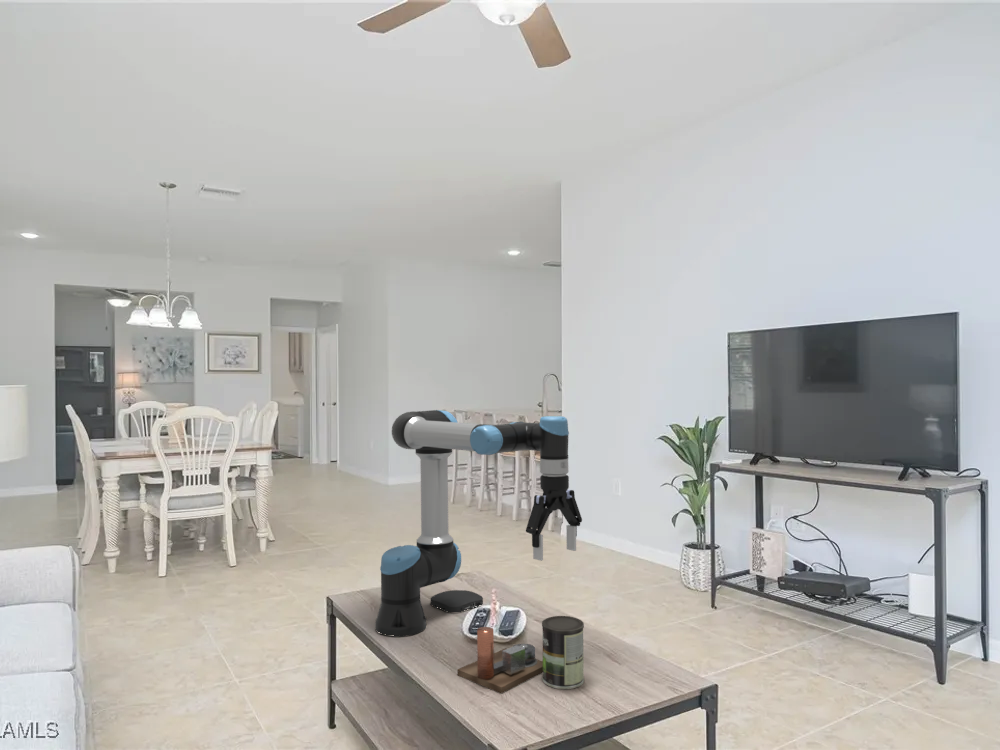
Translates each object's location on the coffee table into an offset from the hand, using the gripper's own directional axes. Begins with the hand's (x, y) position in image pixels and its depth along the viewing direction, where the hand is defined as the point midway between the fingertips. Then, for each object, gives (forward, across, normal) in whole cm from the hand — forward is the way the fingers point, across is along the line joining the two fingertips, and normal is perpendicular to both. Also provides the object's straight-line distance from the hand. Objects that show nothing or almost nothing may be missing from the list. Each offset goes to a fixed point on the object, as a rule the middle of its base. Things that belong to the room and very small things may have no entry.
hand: (555, 554), depth 179 cm
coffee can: (+28, -8, -9) cm, 31 cm away
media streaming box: (+28, +11, +53) cm, 61 cm away
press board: (+28, -15, +4) cm, 32 cm away
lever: (+26, -16, +2) cm, 30 cm away
